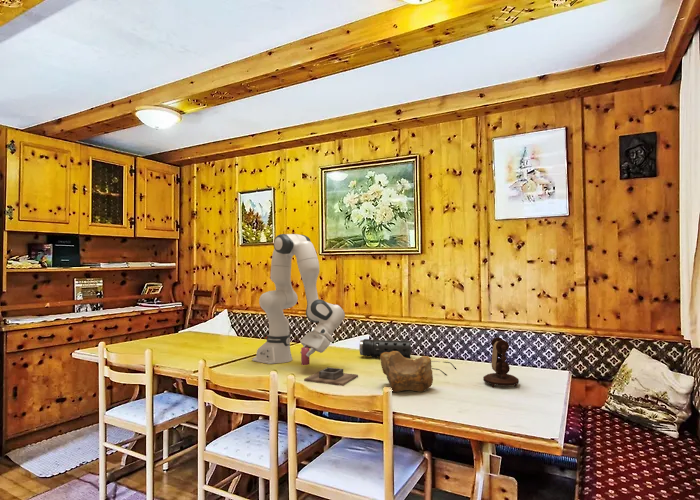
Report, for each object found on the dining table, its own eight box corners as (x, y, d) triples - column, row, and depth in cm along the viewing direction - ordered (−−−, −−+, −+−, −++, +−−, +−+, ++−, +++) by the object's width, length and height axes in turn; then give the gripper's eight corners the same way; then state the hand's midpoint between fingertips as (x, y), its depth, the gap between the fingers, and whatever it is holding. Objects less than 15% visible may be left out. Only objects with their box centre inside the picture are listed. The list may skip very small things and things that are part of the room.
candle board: (304, 380, 203) (304, 372, 203) (321, 372, 217) (320, 364, 217) (343, 385, 194) (343, 376, 194) (358, 376, 208) (357, 368, 209)
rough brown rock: (370, 393, 185) (370, 358, 184) (383, 380, 200) (383, 347, 199) (425, 402, 176) (424, 365, 175) (434, 387, 191) (434, 353, 190)
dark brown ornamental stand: (479, 379, 201) (478, 335, 201) (512, 379, 201) (511, 335, 201) (488, 389, 186) (487, 341, 187) (524, 389, 186) (523, 341, 186)
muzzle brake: (409, 361, 240) (409, 342, 240) (359, 359, 245) (359, 340, 246) (410, 357, 249) (410, 338, 249) (362, 355, 255) (362, 337, 255)
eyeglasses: (423, 365, 231) (422, 355, 231) (457, 369, 221) (457, 359, 221) (410, 372, 218) (410, 361, 218) (446, 377, 208) (446, 366, 208)
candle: (299, 364, 215) (299, 346, 215) (303, 362, 219) (304, 345, 219) (306, 365, 214) (306, 347, 214) (310, 363, 217) (311, 345, 217)
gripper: (308, 326, 229) (291, 347, 224) (327, 332, 212) (309, 354, 206) (316, 333, 231) (299, 354, 226) (335, 340, 214) (317, 363, 209)
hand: (304, 354), depth 216 cm, fingers closed on candle, 4 cm apart
